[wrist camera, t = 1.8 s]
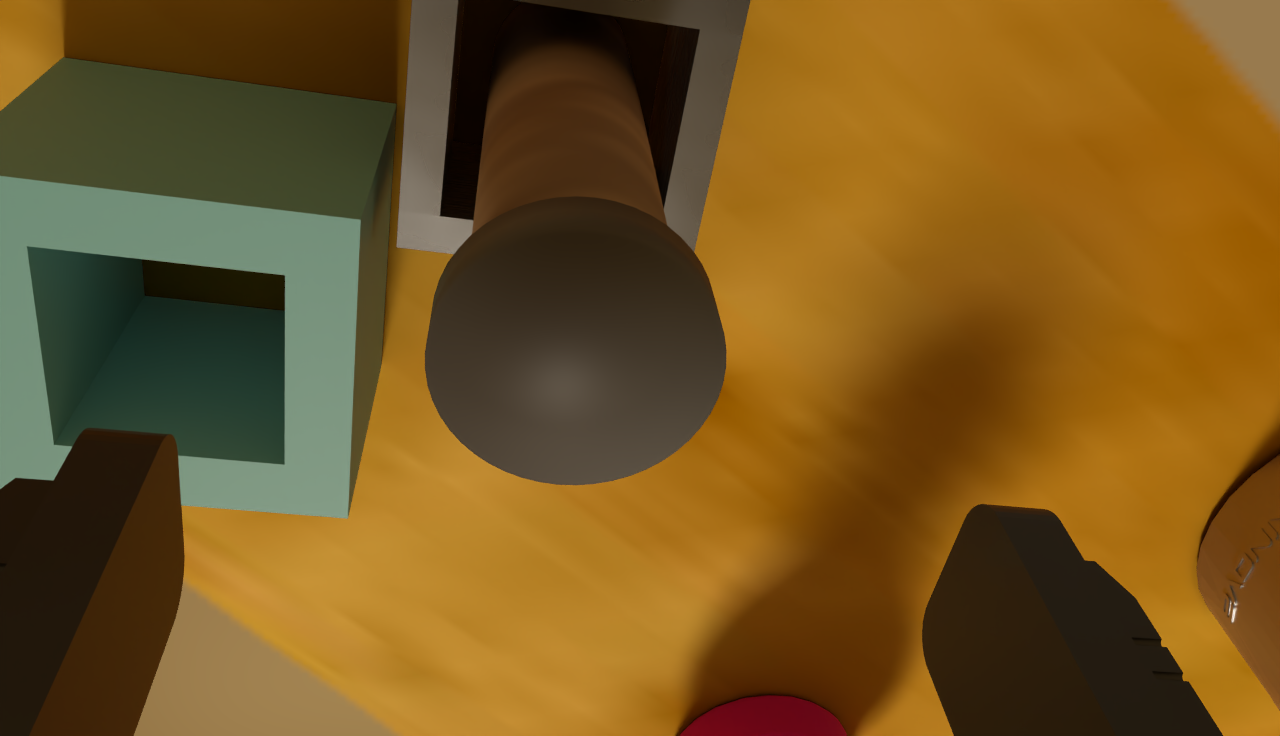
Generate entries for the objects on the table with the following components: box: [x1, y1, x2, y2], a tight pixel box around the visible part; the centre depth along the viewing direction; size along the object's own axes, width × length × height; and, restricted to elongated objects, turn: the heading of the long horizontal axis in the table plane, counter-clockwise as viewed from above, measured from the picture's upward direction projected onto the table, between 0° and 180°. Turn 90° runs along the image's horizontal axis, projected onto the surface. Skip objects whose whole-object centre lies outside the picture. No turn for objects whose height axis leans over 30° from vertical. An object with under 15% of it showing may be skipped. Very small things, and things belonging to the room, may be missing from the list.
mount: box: [397, 0, 750, 254], centre depth 23 cm, size 6×6×4 cm
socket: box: [0, 57, 397, 518], centre depth 23 cm, size 7×7×6 cm
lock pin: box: [425, 2, 726, 485], centre depth 19 cm, size 4×4×12 cm
